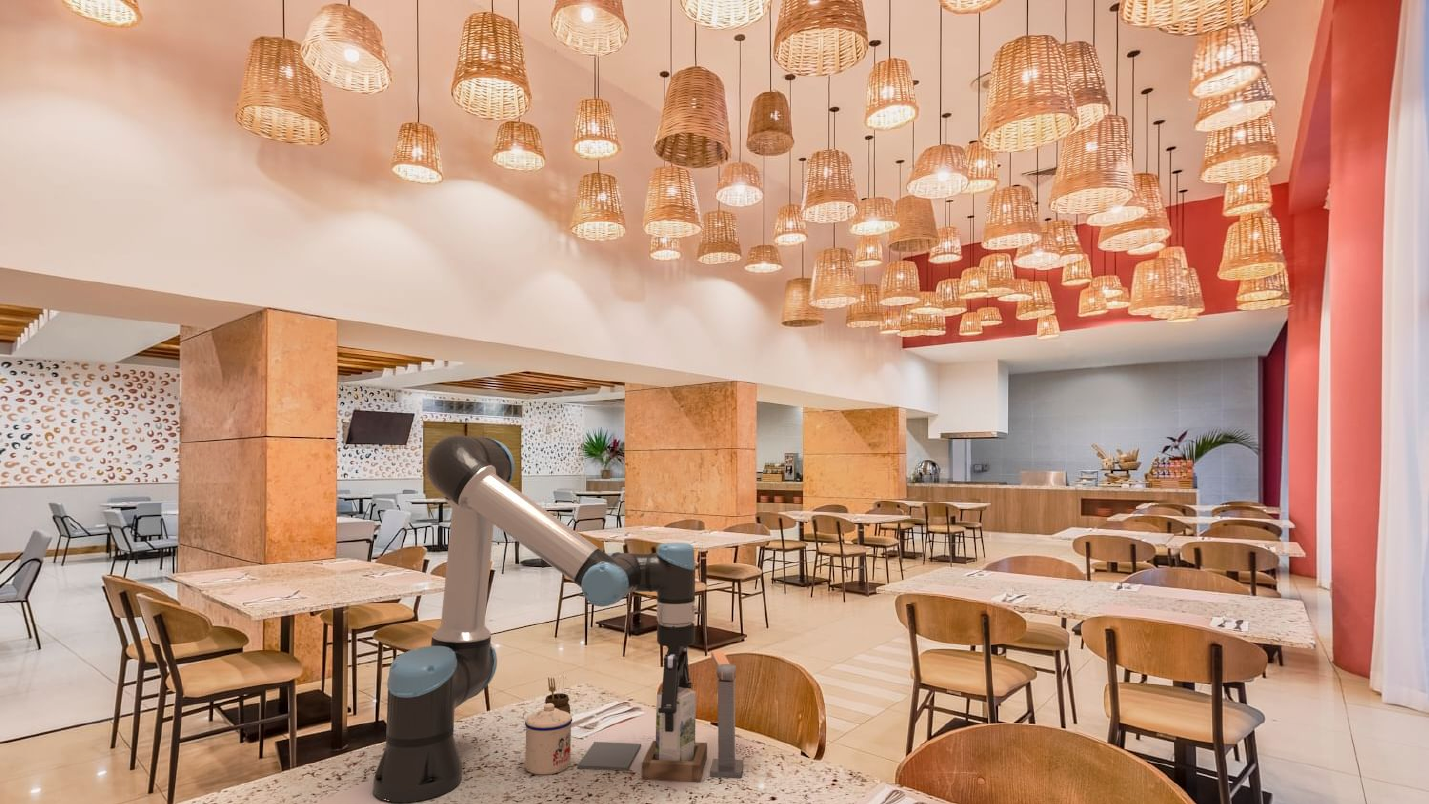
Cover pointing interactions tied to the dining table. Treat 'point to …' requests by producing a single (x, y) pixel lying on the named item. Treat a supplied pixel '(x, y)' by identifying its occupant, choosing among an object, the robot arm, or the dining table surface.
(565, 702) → the utensil holder
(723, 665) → the bar
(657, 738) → the syrup box
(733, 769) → the clip post
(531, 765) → the teacup with lid
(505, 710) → the dining table surface
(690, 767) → the socket collar
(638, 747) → the slate mat
